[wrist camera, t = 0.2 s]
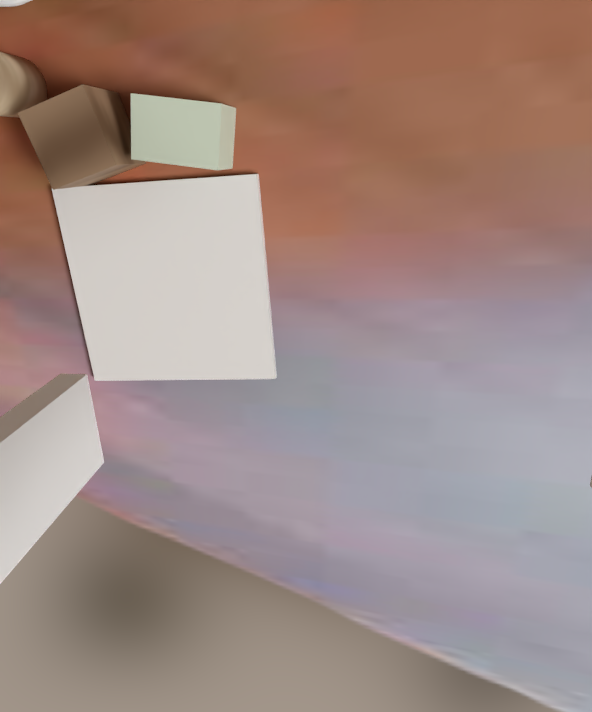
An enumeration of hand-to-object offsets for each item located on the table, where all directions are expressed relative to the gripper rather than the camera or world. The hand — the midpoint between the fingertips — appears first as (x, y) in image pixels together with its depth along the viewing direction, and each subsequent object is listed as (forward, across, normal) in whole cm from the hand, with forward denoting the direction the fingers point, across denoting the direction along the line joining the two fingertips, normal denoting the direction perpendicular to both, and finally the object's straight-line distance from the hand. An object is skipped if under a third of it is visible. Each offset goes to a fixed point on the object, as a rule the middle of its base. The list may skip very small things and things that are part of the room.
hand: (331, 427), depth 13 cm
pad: (+28, -15, -3) cm, 32 cm away
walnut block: (+28, -19, +8) cm, 34 cm away
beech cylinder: (+28, -24, +12) cm, 39 cm away
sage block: (+28, -12, +8) cm, 31 cm away
